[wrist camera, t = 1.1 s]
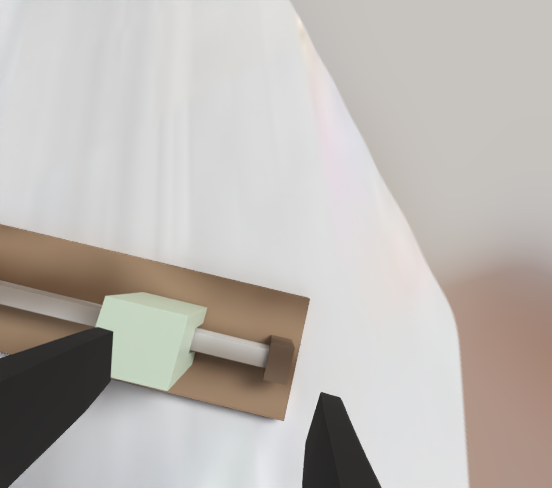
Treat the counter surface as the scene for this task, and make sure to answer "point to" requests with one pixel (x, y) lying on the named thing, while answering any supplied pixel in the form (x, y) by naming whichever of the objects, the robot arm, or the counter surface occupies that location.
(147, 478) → the counter surface
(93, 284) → the rod board
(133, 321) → the sleeve
